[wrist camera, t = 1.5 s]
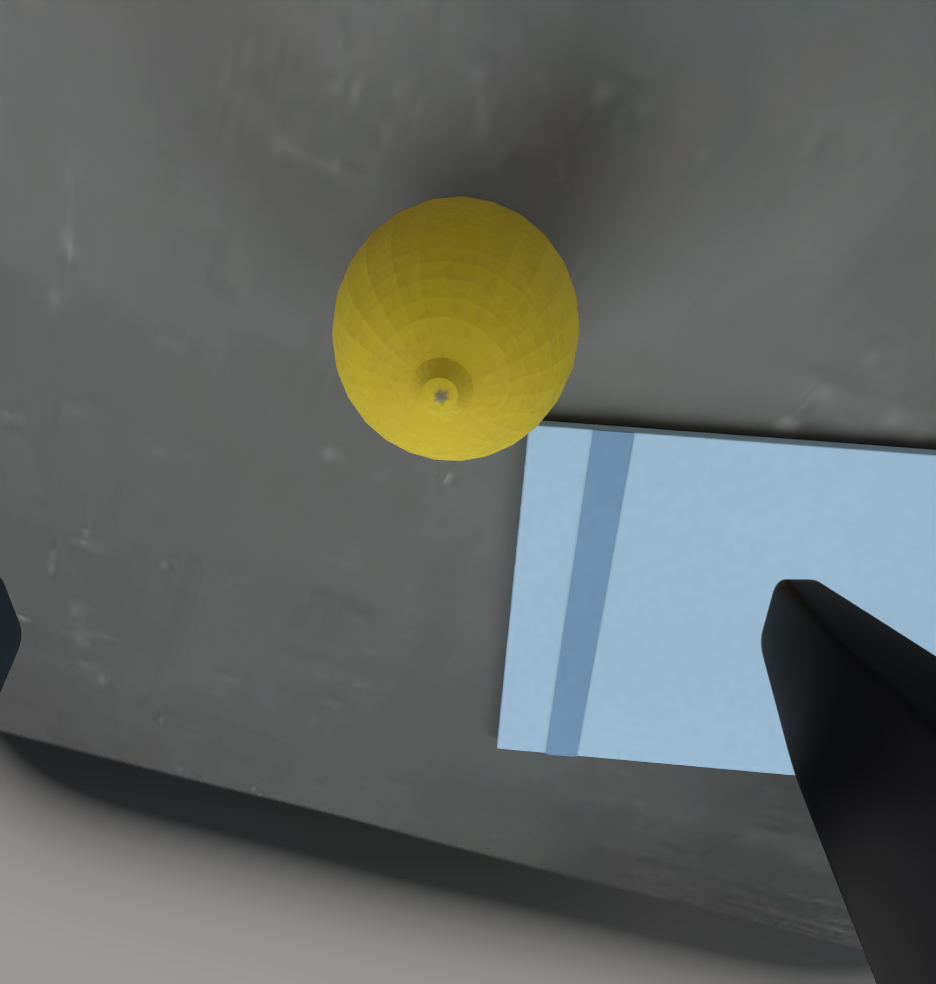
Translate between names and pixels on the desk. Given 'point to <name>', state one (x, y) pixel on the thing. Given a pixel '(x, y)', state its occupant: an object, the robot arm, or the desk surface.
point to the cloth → (694, 582)
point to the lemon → (455, 328)
